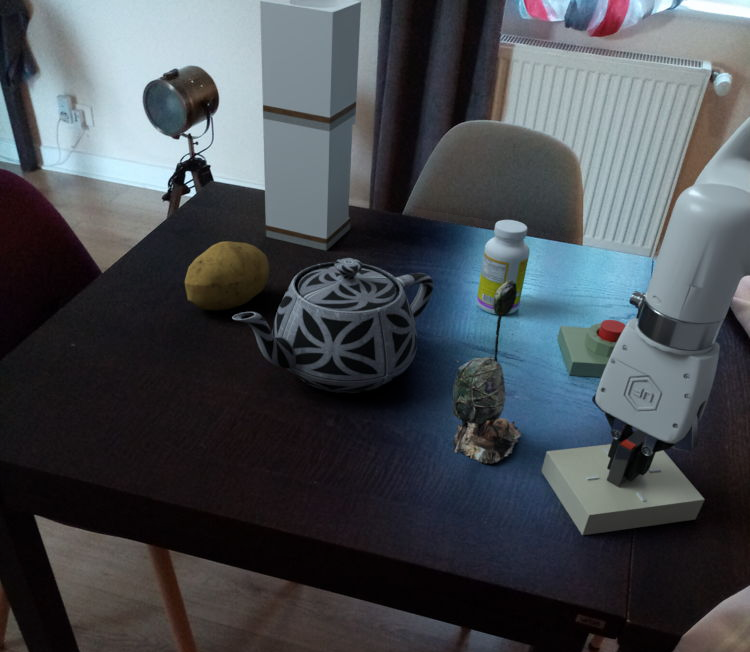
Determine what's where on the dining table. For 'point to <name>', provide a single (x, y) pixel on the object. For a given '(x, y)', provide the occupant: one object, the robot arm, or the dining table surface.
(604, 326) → the cutoff button
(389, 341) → the teapot
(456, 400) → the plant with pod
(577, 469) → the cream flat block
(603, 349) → the cutoff housing
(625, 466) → the dark grey rectangular block
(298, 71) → the banded white pillar
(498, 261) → the supplement bottle
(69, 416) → the dining table surface
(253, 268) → the potato
